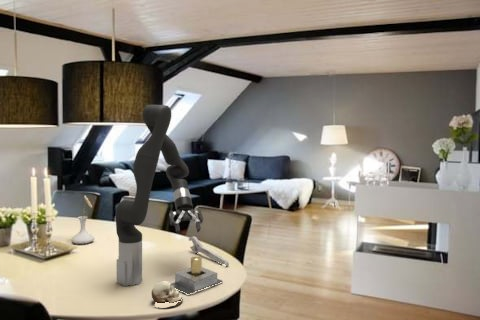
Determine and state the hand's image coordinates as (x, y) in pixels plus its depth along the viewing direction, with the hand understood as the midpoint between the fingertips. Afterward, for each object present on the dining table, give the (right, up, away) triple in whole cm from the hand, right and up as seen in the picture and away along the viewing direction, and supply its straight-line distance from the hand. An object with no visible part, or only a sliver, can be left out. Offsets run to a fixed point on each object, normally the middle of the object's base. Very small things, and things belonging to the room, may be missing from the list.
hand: (188, 232), depth 173 cm
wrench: (+6, -17, +23) cm, 30 cm away
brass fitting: (+4, -19, -9) cm, 21 cm away
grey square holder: (+4, -20, -9) cm, 22 cm away
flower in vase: (-62, -14, +45) cm, 78 cm away
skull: (-5, -21, -25) cm, 33 cm away
